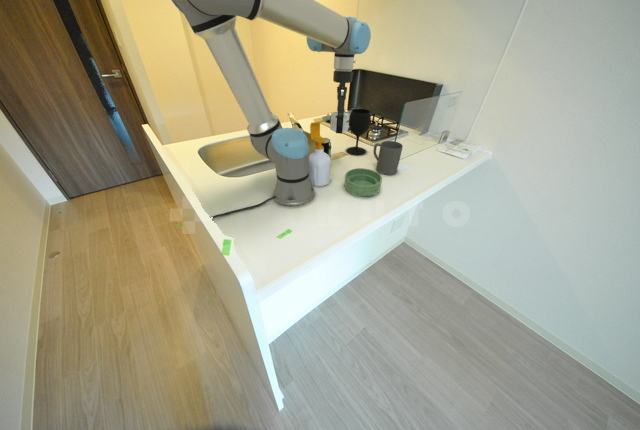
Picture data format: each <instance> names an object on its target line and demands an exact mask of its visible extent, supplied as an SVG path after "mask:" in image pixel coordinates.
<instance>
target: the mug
mask: <svg viewBox="0 0 640 430" xmlns="http://www.w3.org/2000/svg"><path fill="white" fill-rule="evenodd" d="M378 147H379V152H378V154H377V148H378ZM372 152H373V156H374V158H375V160H376V161H377V162H376V172H377V173H379V174H380V175H387V176H390V175H395V174H396V173H397V171H398V168H399V165H400V164H399V163H400V161H401V160H400V159H401V156H402V153H403V144H402V143H401V142H398V141H393V140H384V141H382V142H381V143H379V142H378V143H375V144H374V146H373V151H372Z"/></svg>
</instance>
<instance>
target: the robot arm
mask: <svg viewBox="0 0 640 430" xmlns="http://www.w3.org/2000/svg"><path fill="white" fill-rule="evenodd" d="M171 2H172V4H173V5H174V6H175V7H176V9H178V11H179V12H180V13H182V14H183V15H184V17H185V19H186V21H187V23H188V25H189V27H190V28H191V30H192V32H193V34H194V35H195V36H198V37H199V38H200V39H202V40H204V41H205V44H206V45H207V47H208V49H209V51H210V53H211V55H212V58H214V60H215V62H216V64H217V66H218V68H219V70H220V72H221V74H222V76H223V78H224V79H225V81H226V83H227V85H228V87H229V89H230V91H231V93H232V95H233V96H234V98H235V101H236V102H237V104H238V107H239V108H240V110H241V111H242V113H243V116H244V118H245V120H246V122H247V123H248V125H247V127H246V130H247V132H248V135H249V141H250V143H251V146H252V147H253V149H254V150H255V151H256V152H257V153H258V154H260V155H261V156H263V157H265V158H266V159H268V160H269V161H270V162H272V163H273V165H274V168H275V174H276V175H275V176H276V181H275V185H274V189H273V196H271V197H269V198H267V199H265V200H264V201H262V202H259V203H257V204H254V205H250V206H246V207H242V208H238V209H233V210H230V211H226V212H223V213H218V214H215V215H212V216H211V217H213V219H216V218H219V217H223V216H227V215H230V214H234V213H238V212H242V211H246V210H250V209H254V208H257V207H261V206H263V205H265V204H266V203H268V202H270V201H272V200H273V199H274V200H275V201H276V202H277V203H278V204H280V205H283V206H285V207H300V206H305V205H306V204H308V203H310V202H311V201H312V200H313V199H314V198H315V186H314V185H312V182H311V180H310V177H309V156H310V154H309V153H310V145H309V139H308V136H307V134H306V133H305V132H303V131H302V130H300V129H297V128H292V127H282V123H281V121H280V118H279V116H278V115H276V114H274V113H272V111H271V109H270V106H269V104H268V101H267V99H266V97H265V95H264V93H263V90H262V88H261V85H260V83H259V81H258V79H257V76H256V73H255V71H254V69H253V67H252V64H251V62H250V59H249V57H248V55H247V53H246V50H245V48H244V46H243V42H242V41H241V38H240V36H239V34H238V31H237V29H236V22H237V18H238V17H240V18H244V19H247V20H249V21H255V20H256V19H257V18H258V19H261V20H264V21H267V22H268V23H271V24H274V25H276V26H279V27H281V28H284V29H286V30H288V31H291V32H293V33H296V34H299V35H301V36H303V37H305V38H306V44H307V47H308V49H309V50H310V51H312V52H317V53H320V52H322V53H323V52H324V53H334V55H333V69H334V71H333V74H332V75H333V77H332V78H333V79H332V81H333V82H334V83H338V86H337V87H336V93H337V95H336V96H337V97H336V99H337V107H336V110H337V111H336V112H338V115H337V116H336V118H337V125H336V132H335V134H340V135H341V134H343V132H342V129H343V117H344V112H345V105H346V103H345V102H346V99H347V93H348V87H347V86H346V84H351V83H352V82H353V77H354V76H353V75H354V72H353V71H352V70H354V64H356V59H355V55H362V54H363V53H365V52H366V51H367V49H368V48H369V47H370V42H371V37H372V33H371V32H372V31H371V27H370V25H369V24H368V23H367V22H366V21H361V20H357V17H355V16H354V17H353V16H343V14H340V13H338V12H337V11H335V10H333V9H332V8H329V7H327V6H326V5H324V4H322V3H320V2H318V1H317V0H171ZM313 182H314V179H313ZM314 184H315V182H314Z"/></svg>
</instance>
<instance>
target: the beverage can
mask: <svg viewBox="0 0 640 430" xmlns="http://www.w3.org/2000/svg"><path fill="white" fill-rule="evenodd" d="M324 138H325V139H326V140H327V141H325V142H323V143H322V144H321V145H322V146H323V147H324V153H326V154H328V155H329V156H330V159H332V158H331V157H332V156H331V154H332V142H331V139H330V138H328V137H324ZM315 146H317V143H316V142H315Z"/></svg>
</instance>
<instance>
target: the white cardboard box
mask: <svg viewBox="0 0 640 430" xmlns="http://www.w3.org/2000/svg"><path fill="white" fill-rule="evenodd" d="M350 114H351V113H349V112H345V111H344V117H343V129H342V133H346V132H349V118H350ZM337 115H338V111H333V112H330V125H329V130H331V131H333V132H334V133H336V125H337V118H336V116H337Z"/></svg>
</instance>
